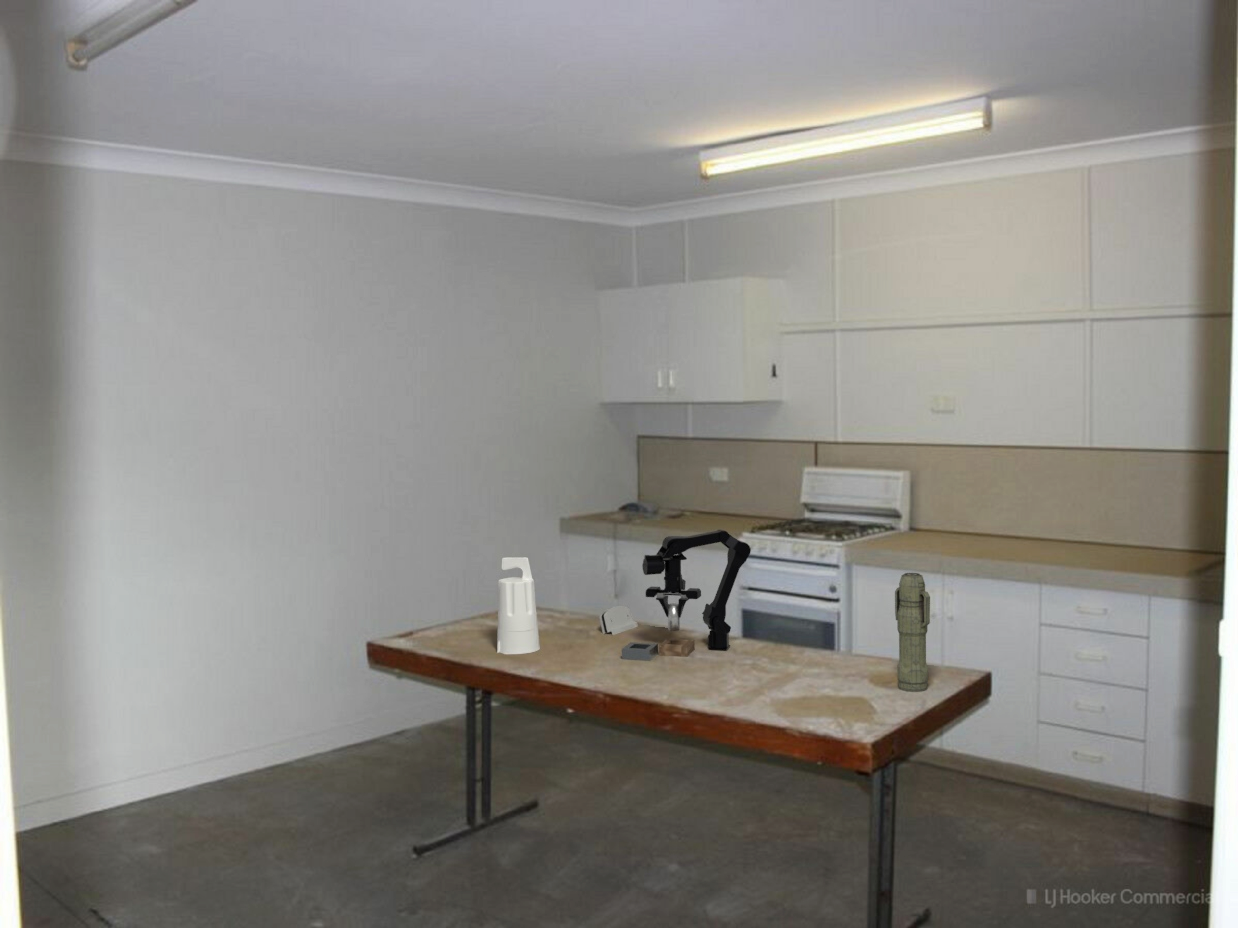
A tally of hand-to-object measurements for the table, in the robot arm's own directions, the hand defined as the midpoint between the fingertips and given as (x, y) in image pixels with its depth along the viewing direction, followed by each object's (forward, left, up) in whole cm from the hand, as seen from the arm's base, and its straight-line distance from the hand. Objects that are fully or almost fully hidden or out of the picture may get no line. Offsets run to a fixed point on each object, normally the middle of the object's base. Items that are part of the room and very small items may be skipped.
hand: (673, 617), depth 391 cm
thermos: (-83, +25, -13) cm, 88 cm away
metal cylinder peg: (0, 0, -5) cm, 4 cm away
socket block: (-1, -1, -13) cm, 13 cm away
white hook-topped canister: (+56, +8, -13) cm, 58 cm away
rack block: (+10, +7, -13) cm, 18 cm away
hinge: (+31, -30, -13) cm, 45 cm away
